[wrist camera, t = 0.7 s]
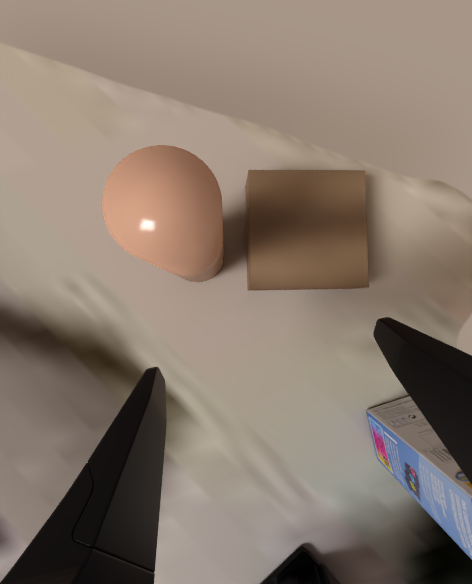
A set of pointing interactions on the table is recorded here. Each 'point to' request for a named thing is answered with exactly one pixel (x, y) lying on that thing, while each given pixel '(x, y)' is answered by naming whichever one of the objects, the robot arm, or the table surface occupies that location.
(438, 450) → the ink cartridge box
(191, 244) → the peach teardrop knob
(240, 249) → the table surface
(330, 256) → the walnut plinth
